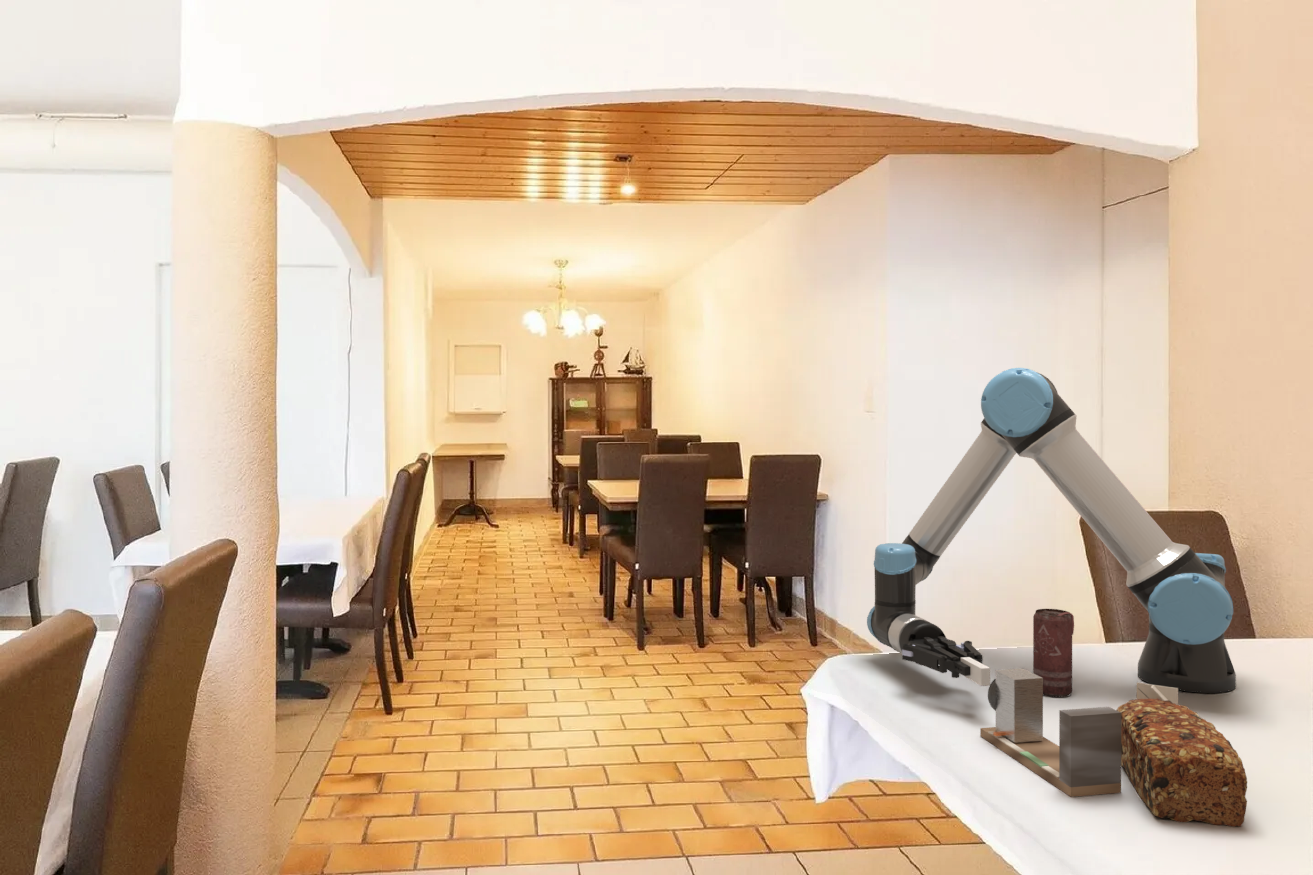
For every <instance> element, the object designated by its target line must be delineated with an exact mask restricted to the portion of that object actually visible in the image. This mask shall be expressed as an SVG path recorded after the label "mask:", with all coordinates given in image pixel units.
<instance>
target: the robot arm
mask: <svg viewBox="0 0 1313 875" xmlns="http://www.w3.org/2000/svg"><path fill="white" fill-rule="evenodd" d="M980 399H981V400H980V408H981V413H982V416H983V419H982V421H981V422H980V427H981V430H980V431H981V432H980V433H979V434H978V436H977V437H976V438H975V440H974V441H973V442H972V444H971V446H970V447H969V448H968V450H967V451H966V453H965V454H964V455H963V456H962V458H961V460H960V461H959V463H958V464H957V465H956V466H955V468H954V469H953V471H952V472H951V474H950V475H949V477H948V478H947V480H945V482H944V484H943V485H942V487H941V488H940V490H939V491H938V492H937V493H936V495H935V496H934V498H933V499H932V500H931V502H930V503H929V505H928V506H927V508H926V509H925V510H924V512H923V514H921V516H920V517H919V519H918V520H917V522H916V523H915V524H914V526H913V527H912V529H911V530H910V531H909V533H908V535H907V536H906V537H905V539H904V540H903V542H901V543H898V542H892V543H891V542H890V543H881V544H878V545H877V546H876V547H875V550H874V560H873V567H874V606H872V608H871V609H870V611H869V613H868V615H867V617H866V626H867V629H868V631H869V632H870V634H871V636H873V637H874V638H875V639H876V640H877V641H878V642H879V643H880V644H883V645H885V646H886V647H889V648H891V649H893V651H896V652H898V653H899V654H901V656H902V657H901V658H902V660H904V661H908V662H912V663H915V664H917V665H919V666H923V667H926V668H929V669H931V670H933V671H936V672H938V673H941V674H946V673H948V671H949V672H951V678H953V679H959V678H960V675H962V676H963V677H965V678H966V679H968V680H970V681H972V682H973V683H974V684H975V683H976V684H977V685H979V686H980V687H986V686H989V687H990V684H991V668H990V667H989V666H988V665H986V664H984V663H983V654H982V653H981V652H979V650H978V649H977V648H975V647H974V646H973V641H970V640H964V641H963V642H960V644H957V642H956V641H955V640H952V639H948V638H947V636H946V635H945V633H944V631H943V630H942V629H941V628H940V627H939V626H938V625H936V624H934V623H932V622H930V621H928V620H926V619H925V618H922V617H920V616H918V615H916V604H917V601H916V586H917V585H918V584H920V583H921V582H922V581H924V580H926V579H927V578H928V577H929V575H931V573H932V571H933V569H934V566H935V565H936V564H937V562H938V560H940V558H941V557H942V555H943V554H944V552H945V551H946V550H947V548H948V547H949V545H950V544H951V542H952V541H953V540H954V539H955V537H957V534H958V533H959V532H960V530H962V528H963V526H964V525H965V524H966V522H967V521H968V520H969V519H970V517H971V516H972V515H973V513H974V511H975V510H976V509H977V507H978V506H979V505H980V503H981V501H982V500H983V499H984V497H986V495H987V494H988V492H989V491H990V489H991V488H992V487H993V485H994V484H995V483H996V482H997V480H998V478H999V477H1000V476H1001V474H1003V472H1004V470H1005V469H1006V468H1007V466H1008V465H1009V464H1010V463H1011V461H1012V459H1013V458H1014V457H1015V455H1016V454H1017V455H1018V456H1019V457H1022V458H1029V459H1032V460H1034V462H1035V463H1036V465H1038V466H1039V467H1040V469H1041V470H1042V471H1043V472H1044V474H1046V476H1047V477H1048V478H1049V480H1050V481H1051V482H1052V483H1053V484H1054V485H1055V487H1056V488H1057V490H1059V491H1060V493H1061V494H1062V496H1064V497H1065V499H1066V501H1068V502H1069V503H1070V505H1071V506H1072V507H1073V508H1074V510H1075V511H1076V512H1077V513H1078V514H1079V516H1081V518H1082V519H1083V520H1084V522H1085V523H1086V524H1087V525H1088V527H1090V529H1091V531H1093V533H1094V534H1095V535H1096V536H1097V537H1098V539H1099V540H1100V541H1101V542H1102V543H1103V545H1105V547H1106V549H1107V550H1109V552H1110V553H1111V554H1112V555H1113V557H1114V558H1115V559H1116V560H1117V561H1118V562H1119V564H1120V565H1121V567H1123V569H1124V570H1125V571H1126V580H1125V581H1126V583H1125V585H1126V587H1128V589H1129V591H1130V592H1131V593H1132V594H1133V595H1134V596H1135V597H1136V598H1137V601H1139V603H1140V605H1142V607H1143V608H1144V610H1145V609H1146V611H1147V612H1148V636H1147V637H1146V640H1145V644H1144V647H1143V649H1142V652H1141V654H1140V656H1139V660H1138V662H1137V676H1138V678H1139V679H1141V680H1142V681H1144V682H1146V683H1147V684H1151V685H1158V686H1165V687H1173V688H1178V691H1181V692H1190V693H1200V694H1203V693H1204V694H1207V693H1208V694H1212V693H1213V694H1215V693H1216V694H1218V693H1225V692H1230V691H1233V690H1234V689H1236V686H1237V684H1236V683H1237V682H1236V681H1237V675H1236V671H1235V668H1234V665H1233V663H1232V659H1231V656H1230V653H1229V650H1228V649H1227V645H1226V642H1225V632H1226V631H1227V630H1228V628H1229V626H1230V624H1231V622H1232V619H1233V615H1234V604H1233V603H1234V602H1233V599H1232V596H1231V595H1230V593H1229V591H1228V590H1227V587H1226V585H1225V584H1226V582H1225V581H1226V578H1225V576H1226V575H1225V574H1226V573H1227V568H1226V565H1225V563H1226V562H1225V559H1224V557H1223V556H1222V555H1220V554H1217V553H1216V554H1215V553H1203V552H1202V553H1200V552H1195V551H1194V550H1193V549H1192V547H1190V545H1188V544H1182V543H1177V542H1175V541H1174V542H1173V541H1172V540H1171V538H1170V537H1169V536H1168V534H1166V532H1164V530H1163V528H1161V527H1160V525H1159V524H1158V523H1157V522H1156V520H1154V518H1153V517H1152V516H1151V515H1150V514H1149V513H1148V512H1147V510H1146V509H1145V508H1144V507H1143V505H1141V503H1140V502H1139V501H1138V500H1137V499H1136V498H1135V497H1134V495H1133V494H1132V493H1131V491H1130V490H1128V488H1127V487H1126V486H1125V485H1124V483H1123V482H1122V481H1121V480H1120V479H1119V478H1118V477H1117V476H1116V475H1117V474H1115V473H1114V472H1113V470H1112V469H1111V468H1110V467H1109V466H1108V465H1107V463H1106V462H1105V461H1104V460H1103V459H1102V457H1100V456H1099V454H1098V453H1097V452H1096V451H1095V449H1093V447H1092V446H1091V445H1090V444H1089V443H1088V441H1086V439H1085V438H1084V436H1082V435H1081V433H1080V432H1079V431H1078V430H1077V426H1076V423H1077V414H1076V413H1075V412H1074V411H1073V410H1072V409H1071V407H1070V406H1069V405H1068V404H1067V403H1066V401H1065V400H1064V399H1063V397H1061V395H1059V393H1058V390H1057V388H1056V386H1055V385H1054V383H1053V382H1052V381H1051V379H1050V378H1048V377H1047V376H1046V375H1044V374H1042V373H1039V372H1038V371H1035V370H1033V369H1030V368H1025V367H1014V368H1009V369H1006V370H1003V371H1001V372H1000V373H998V374H996V375H995V376H994V377H993V378H991V379H990V380H989V381H988V382H987V384H986V385H985V388H984V389H983V391H982V394H981V398H980Z"/></svg>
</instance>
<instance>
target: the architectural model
mask: <svg viewBox="0 0 1313 875" xmlns="http://www.w3.org/2000/svg"><path fill="white" fill-rule="evenodd" d="M1156 698H1158V699H1160V700H1162V701H1166V700H1169V701H1171V702H1172V703H1173V704H1174V703H1175V704H1176V705H1179V690H1178V688H1173V687H1165V686H1158V685H1154V684H1151V683H1144V682H1136V699H1156Z"/></svg>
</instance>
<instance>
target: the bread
mask: <svg viewBox="0 0 1313 875" xmlns="http://www.w3.org/2000/svg"><path fill="white" fill-rule="evenodd" d="M1116 710H1117V711H1119V712H1121V768H1124V769H1125V772H1126V774H1127V776H1128V779H1129V782H1131V784H1132V785H1133V788H1134V789H1135V790H1136V793H1137V794H1138V796H1139V797H1140V799H1141V800H1142V801H1143V803H1144V804H1145V805H1146V806H1147V807H1148V809H1149V810H1150V811H1151V813H1152V815H1153V816H1155V817H1158V818H1160V819H1163V820H1164V819H1170V820H1172V821H1175V822H1178V823H1187V822H1191V821H1196V822H1198V821H1199V822H1200V821H1201V822H1204V823H1206V824H1210V825H1215V826H1223V825H1225V826H1228V827H1240V828H1241V827H1242V825H1243V824H1244V822H1245V816H1246V812H1247V805H1248V800H1247V797H1246V794H1247V791H1248V790H1247V789H1248V778H1247V774H1246V769H1245V767H1244V764H1243V760H1242V758H1241V757H1240V756H1239V754H1238V752H1237V750H1236V749H1234V747H1233V745H1232V743H1231V742H1230V740H1228V739H1227V738H1226V737H1225V736H1224V734H1223V733H1221V732H1220V731H1218V730H1217V727H1216V726H1215V725H1214V724H1213V723H1212V722H1210V721H1208V720H1206V719H1205V718H1202V717H1201V716H1199V714H1198V713H1197V712H1195V711H1193V710H1191V709H1190V708H1189V706H1187V705H1181V704H1178V705H1176V704H1175V703H1174V704H1173V703H1172V702H1171V701H1169V700H1166V701H1162V700H1160V699H1158V698H1156V699H1137V698H1136V699H1130V700H1128V701H1127V702H1125V703H1123V704H1121V705H1119V706H1118V707H1117V709H1116Z"/></svg>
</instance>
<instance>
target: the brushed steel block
mask: <svg viewBox="0 0 1313 875" xmlns="http://www.w3.org/2000/svg"><path fill="white" fill-rule="evenodd" d="M987 700H988V703H989V706H990V707H991V708H992V709H993V711H994V712H995V727H996V731H997V732H993V735H995V736H1005V737H1006V738H1008V739H1009V740H1011V741H1012V742H1014V743H1018V742H1032V741H1043V737H1044V733H1043V732H1044V729H1043V728H1044V716H1043V715H1044V710H1043V709H1044V695H1043V678H1042V677H1040V676H1038V675H1036V674H1034V673H1033V671H1032V672H1031V671H1029V670H1028V669H1025V668H1023V667H1022V668H1010V669H1008V668H1007V669H995V678H994V679H993V680H992V681H991V682H990V685H989V687H988V689H987Z"/></svg>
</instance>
